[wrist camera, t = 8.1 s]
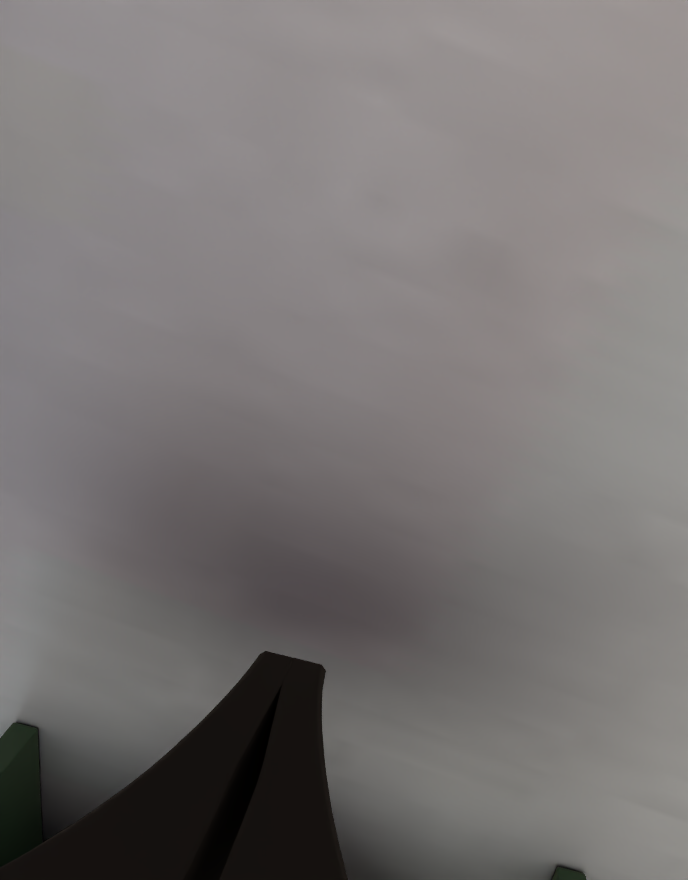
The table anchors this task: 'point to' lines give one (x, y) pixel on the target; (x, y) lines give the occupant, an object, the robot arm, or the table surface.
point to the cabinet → (19, 801)
